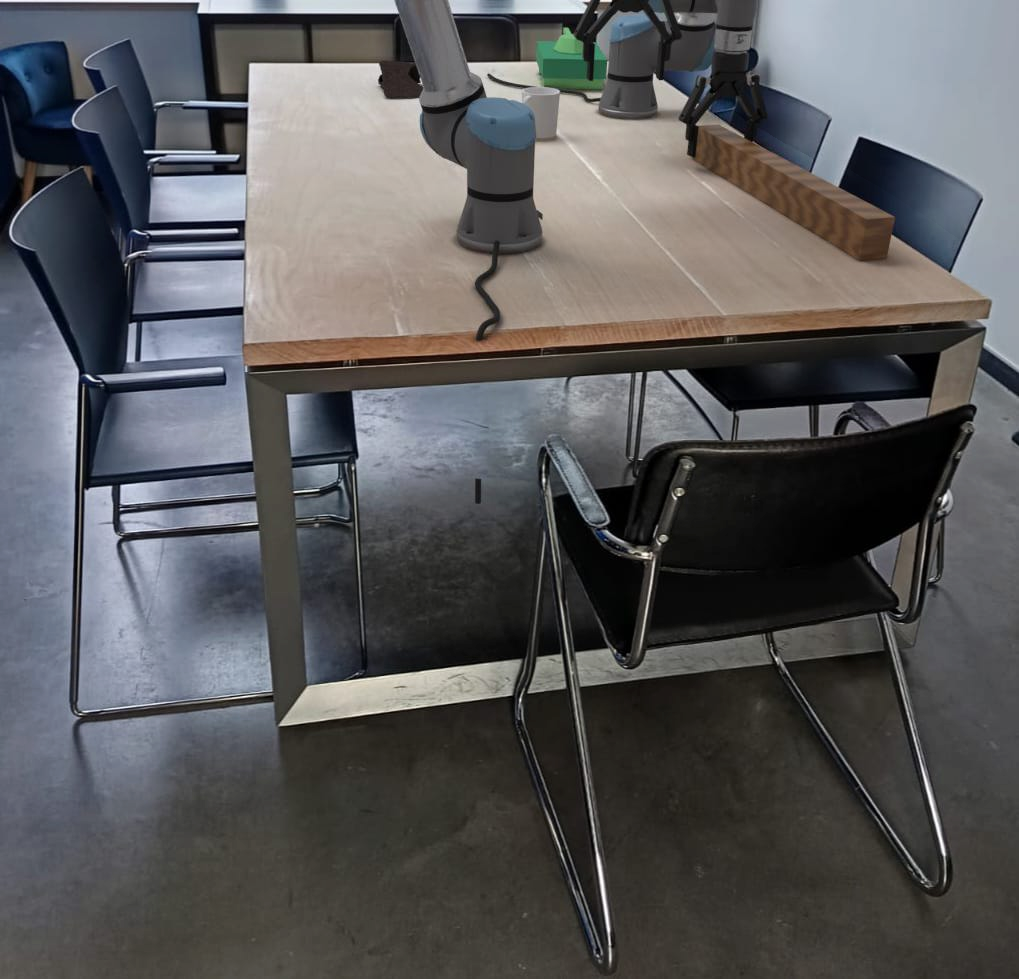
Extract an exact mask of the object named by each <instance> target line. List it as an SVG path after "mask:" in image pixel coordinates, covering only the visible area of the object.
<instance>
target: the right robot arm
mask: <svg viewBox="0 0 1019 979" xmlns="http://www.w3.org/2000/svg"><path fill="white" fill-rule="evenodd" d="M669 1H670V4H671V6H672V9H673V12H674V15H675V17H676V20H677V23H678V26H679V29H680V31H681V34H682V38H681V39H680V40H675V41H673V43H672V44H671V52H670V59H669V61H665V64H664V72H689V73H693V72H703V71H706V70H708V69H709V68H710V70H711V72H710V75H709V76H703V75H699V74H698V75H697V76H696V78H695V83H694V87H693V89H692V91H691V93H690V94H689V97H688V99H687V101H686V103H685V105H684V106H683V108H682V111H681V112H680V114H679V116H678V121H679V122H681V123H683V124H684V125H686V127H685V135H684V137H685V141H687V150H686V155H687V156H688V157H690V158H692V159H693V157H696V147H697V138H698V129H699V126H700V125H697V123H698V122H699V121H700V120H701V118H703V116H704V115H705V114H706V112H707V111H708V110H709V109H710V107H711V106H712V105H713V104H714V102H716V101H717V100H718V99H719V98H720V99H726V98H727V99H728V98H730V99H735V98H736V99H737V101H738V102H739V104H740V105H741V107H742V109H743V111H744V112H745V114H746V115H747V117H748V118H749V120H746V121H745V126H744V135H743V138H745V139H747V140H749V141H751V142H753V143H754V138H757V135H758V130H759V124H761V123H762V121H763V120H767V119H768V117H769V114H768V111H767V107H766V105H765V104H766V103H765V100H764V98H763V94H762V90H761V86H760V78H761V77H760V75H758V74H756V73H754V72H751V73H750V74H748V75H747V72H748V67H749V59H750V54H749V52H748V51H749V50H750V49H751V41H752V34H753V25H754V19H755V10H756V4H757V3H756V2H757V0H669ZM648 3H649V5H650V6H651V8H652V9H653V11H654V13H658V14H663V13H664V10H663V8H662V5H661V2H660V0H649V1H648ZM664 14H665V13H664ZM715 14H716V16H715ZM656 16H657V17H658V19H659V20H660V18H659V16H658V15H657V14H656ZM715 20H716V21H715ZM660 21H661V23H662V24H663V26H664V27H665V29H666V30H667V32H668V33H669V34H670V33H672V32H671V30H670V27H669V24H668V21H667V20H660ZM608 41H609V51H608V62H607V77H606V83H605V86H604V89H603V92H602V93H601V97H594V98H589V97H588V95H587V94H586V93H585V92H582V91H579V90H573V89H557V90H559V91H560V94H568V95H569V94H570V95H576V96H581V97H583V99H584V101H585V102H587V103H597V102H598V110H597V111H598V114H600V115H603V116H605V117H608V118H609V117H610V118H615V119H622V120H623V119H624V120H640V119H641V120H642V119H649V118H653V117H655V116H657V115H658V111H659V110H658V109H659V106H658V100H657V97H656V96H657V95H656V91H655V87H654V72H655V71H657V59H658V47H659V42H663V41H664V40H663V38H662V37H661V36H660V34H659V33H658V31H657V30H656V28H655V27H654V25H653V24H652V23H651V21H650V20H649V18H648V17H647V15H646V14H645V13H637V14H629V15H624V16H621V17H618V18H616V19H615V20H614V21H613V22H612V23H611V26H610V33H609V38H608ZM486 77H488V78H489V79H490V80H492V81H494V82H496V83H499V84H501V85H505V86H508V87H509V86H510V87H513V88H520V89H525V88H530V87H537V85H536V86H535V85H528V84H520V83H515V82H509V81H506V80H502V79H500V78H497V77H495V76H493V75H492V74H491V73H490V72H489V73H487V74H486ZM746 84H747V85H748V88H749V91H750V94H751V98H752V101H753V105H754V106H753V105H752V102H751V101H750V99H749V98H748V96H747V94H746V92H745V90H744V87H745V85H746ZM708 85H709V86H710V87H709V89H708V90H707V91H706V93H705V95H704V97H703V98H702V96H703V94H704V92H705V89H706V88H707V87H708ZM701 98H702V99H701ZM700 100H701V101H700Z"/></svg>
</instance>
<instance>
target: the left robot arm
mask: <svg viewBox="0 0 1019 979" xmlns="http://www.w3.org/2000/svg"><path fill="white" fill-rule="evenodd" d="M648 1H649V0H611V1H610V2H609V4H608V5H607V6H606V8H605V10H604V11H603V12H602V13H601V14H600V16H598V18H597V19H596V20H595V22H594V23H592V25H591V27H590V28H589V29H588V30H587V28H588V27H589V25H590V23H591V21H592V19H593V17H594V15H595V13H596V11H597V9H598V7H599V5H600V3H601V0H589V2H588V4H587V6H586V8H585V9H584V12H583V13H582V14H583V15H582V16H581V18H580V20H579V21H578V24H577V25H576V28H575V30H574V32H573V34H574V37H575V38H576V39H577V40H580V41H582V42H583V55H582V58H583V60H584V61H585V62H587V79H588V80H589V81H593V74H594V55H595V44H594V43H593V42H594V39H595V38H596V37H597V35H598V34H599V33H600V32H601V31H602V30H603V29H604V27H605V26H606V25H607V24H608V22H609V21H610V20H611V19H612V18H613V16H615V15H617V13H618V12H620V13H624V14H626V13H630V12H631V13H637V14H640V12H643V14H646V15H647V17H648V18H649V20H650V21H651V23H652V24H653V25H654V27H655V28H656V30H657V31H658V33H659V34H660V36H661V37H662V38H663V40H664V41H663V42H659V47H658V59H657V71H656V73H655V78H656V79H657V80H658V81H664V77H665V76H664V75H665V71H664V64H665V61H669V59H670V52H671V44H672V43H673V41H675V40H680V39H681V38H682V34H681V31H680V29H679V26H678V23H677V20H676V17H675V15H674V12H673V9H672V6H671V4H670V1H669V0H660V2H661V5H662V8H663V10H664V16H665V19H666V21H668V24H669V27H670V30H671V32H672V33H670V34H669V33H668V32H667V30H666V29H665V27H664V26H663V24H662V23H661V21H662V20H660V18H659V16H658V15H657V14H656V12H654V11H653V9H652V8H651V6H650V5H649V3H648ZM394 3H395V6H396V9H397V12H398V15H399V18H400V21H401V24H402V28H403V30H404V33H405V37H406V39H407V42H408V45H409V48H410V50H411V54H412V57H413V60H414V63H416V66H417V69H418V72H419V75H420V81H421V84H422V87H424V88H423V91H422V93H421V95H420V96H419V97H418V102H419V104H420V107H421V113H420V114H419V129H420V133H421V135H422V139H423V140H424V142H425V143H426V145H427V146H428V147H429V148H430V149H431V150H432V151H434V152H435V154H436V155H438V156H439V157H441V158H442V159H445V160H448V161H449V162H451V163H454V164H456V165H457V166H460V167H462V168H464V169H466V192H467V193H466V198H465V202H464V205H463V209H462V211H461V214H460V218H459V220H458V224H457V227H456V241H457V243H458V244H459V245H461V246H462V247H464V248H466V249H468V250H470V251H475V252H479V253H486V254H491V265H490V267H489V268H488V269H487V270H486V271H484V272H483V273H482V274H480V275H478V276H477V278H476V279H475V281H474V287H475V290H476V291H477V293H478V294H479V295H480V297H481V298H483V300H484V301H485V303H486V304H487V306H488V308H490V310H491V311H492V313H493V317H490V318H488V319H486V320H484V321H483V322H481V324H480V325H479V327H478V330H477V331H476V332H477V333H476V337H475V341H476V342H482V341H483V339H484V334H485V331H486V330H487V328H489V327H490V326H493V325H495V324H497V323H498V322H499V321H500V319H501V312H500V309H499V307H498V306H497V305H496V303H495V302H494V300H493V299H492V298H491V296H490V295H489V293H488V292H487V291H486V290H485V288H483V286H482V283H483V282H484V281H485V280H487V279H488V278H489V277H491V276H492V275H493V274H494V273H495V272H496V270H497V267H498V263H499V254H500V255H506V254H507V255H508V254H517V253H524V252H527V251H530V250H533V249H536V248H538V247H539V246H540V245H541V244H542V243H543V229H542V224H541V221H543V217H544V214H543V212H541V211H539V209H537V206H536V204H535V199H534V184H535V181H534V180H535V158H536V156H535V154H536V140H535V139H536V127H535V117H534V114H533V112H532V110H531V109H530V108H529V107H527V106H526V105H524V104H522V102H520V101H518V100H514V99H508V98H505V97H495V96H494V97H491V96H490V97H488V96H487V92H486V90H485V87H484V83H483V80H482V78H481V77H480V75H478V74H475V73H473V72H471V71H470V67H469V64H468V61H467V58H466V54H465V51H464V48H463V44H462V42H461V41H462V40H461V38H460V35H459V32H458V31H459V30H458V27H457V24H456V21H455V18H454V15H453V11H452V9H451V5H450V2H449V0H394ZM656 15H657V16H658V17H657V16H656ZM658 18H659V19H658ZM540 220H541V221H540ZM474 504H476V505H479V504H482V479H481V478H475V479H474Z"/></svg>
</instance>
